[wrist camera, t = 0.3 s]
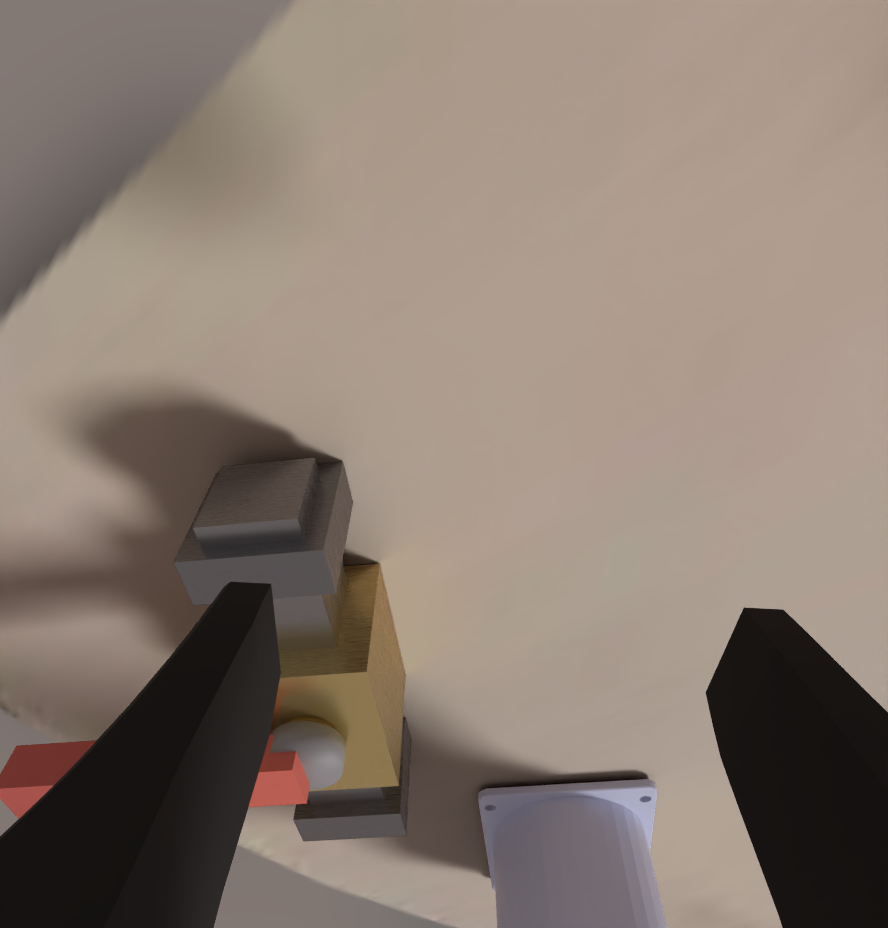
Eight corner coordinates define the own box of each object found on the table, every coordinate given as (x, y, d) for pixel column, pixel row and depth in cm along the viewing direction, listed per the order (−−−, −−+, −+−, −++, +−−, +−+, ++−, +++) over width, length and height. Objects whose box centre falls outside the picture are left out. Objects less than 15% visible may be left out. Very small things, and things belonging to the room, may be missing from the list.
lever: (337, 718, 20) (330, 765, 19) (352, 763, 22) (347, 809, 21) (16, 740, 21) (-11, 786, 20) (50, 782, 22) (27, 828, 21)
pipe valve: (422, 749, 29) (418, 863, 26) (314, 756, 30) (294, 869, 26) (351, 441, 20) (328, 546, 16) (196, 456, 21) (138, 562, 17)
